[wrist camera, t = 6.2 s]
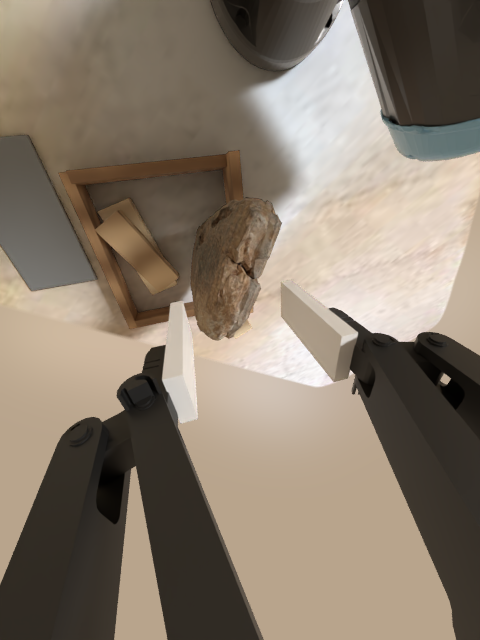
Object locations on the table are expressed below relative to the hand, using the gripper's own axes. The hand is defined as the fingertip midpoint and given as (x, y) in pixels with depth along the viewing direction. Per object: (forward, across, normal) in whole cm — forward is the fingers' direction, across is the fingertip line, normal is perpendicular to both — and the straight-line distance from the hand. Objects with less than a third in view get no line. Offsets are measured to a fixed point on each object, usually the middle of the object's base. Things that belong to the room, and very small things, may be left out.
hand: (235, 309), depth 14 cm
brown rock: (+23, 0, 0) cm, 23 cm away
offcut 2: (+22, -9, 0) cm, 24 cm away
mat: (+23, -22, +6) cm, 32 cm away
